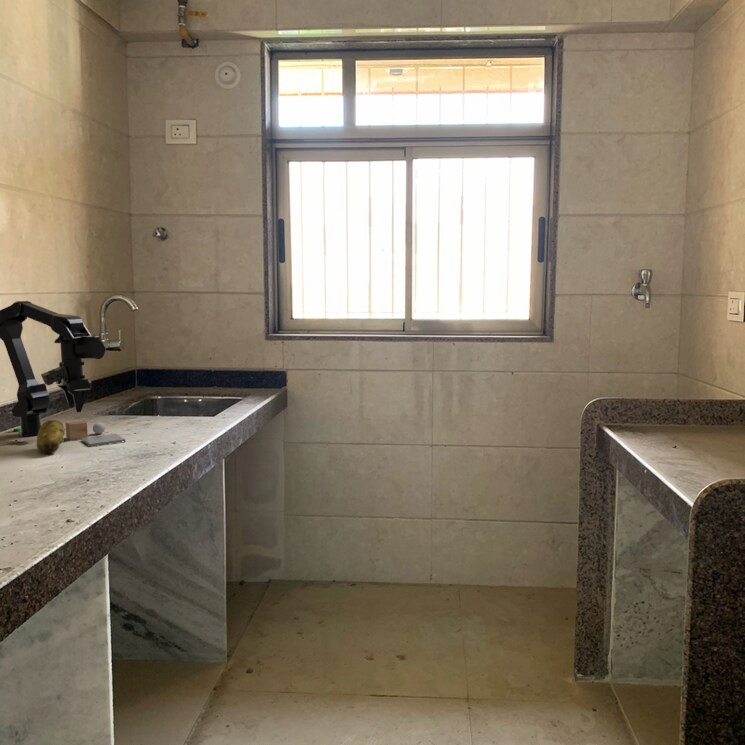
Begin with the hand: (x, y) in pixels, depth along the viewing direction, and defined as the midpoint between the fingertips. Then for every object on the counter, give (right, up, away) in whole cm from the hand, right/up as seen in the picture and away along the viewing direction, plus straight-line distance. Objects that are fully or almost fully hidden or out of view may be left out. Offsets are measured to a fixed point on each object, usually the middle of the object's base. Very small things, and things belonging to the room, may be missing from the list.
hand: (74, 409), depth 215 cm
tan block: (0, -9, +1) cm, 9 cm away
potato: (-1, -11, -15) cm, 18 cm away
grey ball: (+5, -6, +6) cm, 10 cm away
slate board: (+10, -9, -4) cm, 14 cm away
